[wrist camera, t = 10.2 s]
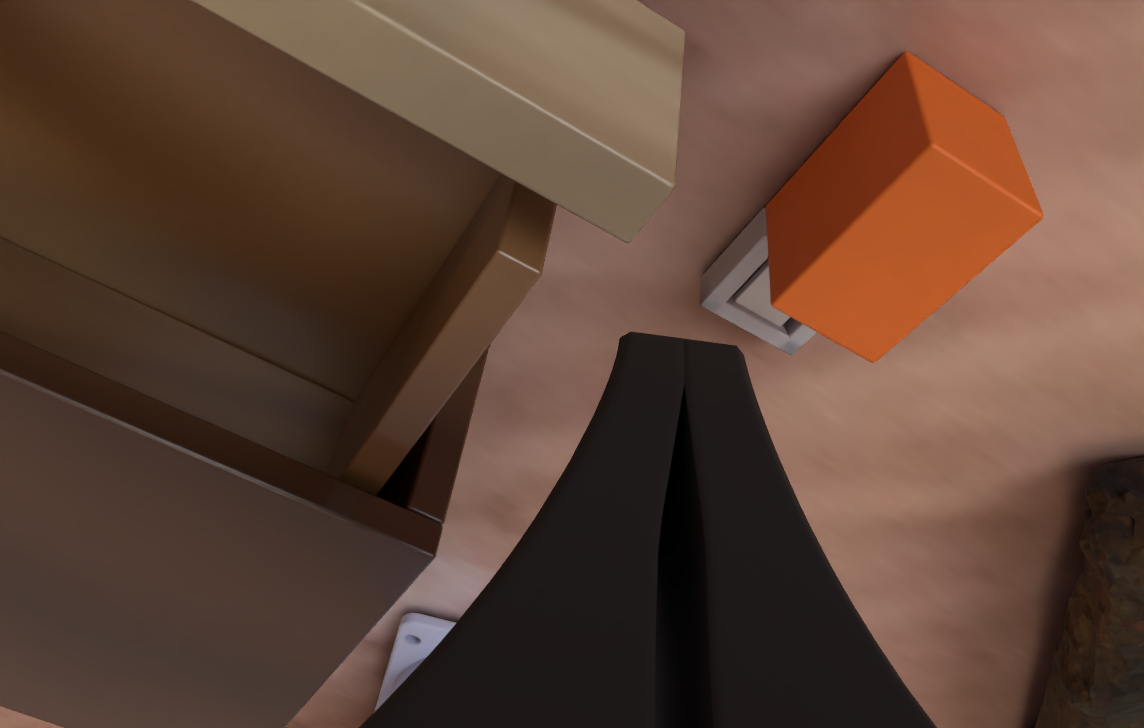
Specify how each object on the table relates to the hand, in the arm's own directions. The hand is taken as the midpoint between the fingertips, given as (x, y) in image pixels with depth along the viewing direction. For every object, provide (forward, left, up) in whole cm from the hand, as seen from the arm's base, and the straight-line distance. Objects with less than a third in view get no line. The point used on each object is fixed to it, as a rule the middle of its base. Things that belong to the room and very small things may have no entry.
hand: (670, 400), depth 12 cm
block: (-2, -4, -9) cm, 10 cm away
